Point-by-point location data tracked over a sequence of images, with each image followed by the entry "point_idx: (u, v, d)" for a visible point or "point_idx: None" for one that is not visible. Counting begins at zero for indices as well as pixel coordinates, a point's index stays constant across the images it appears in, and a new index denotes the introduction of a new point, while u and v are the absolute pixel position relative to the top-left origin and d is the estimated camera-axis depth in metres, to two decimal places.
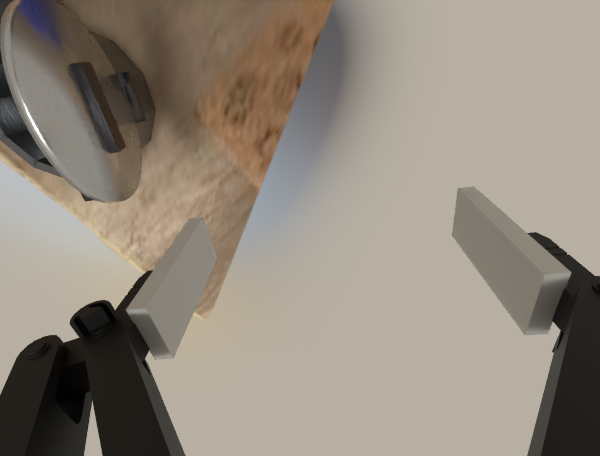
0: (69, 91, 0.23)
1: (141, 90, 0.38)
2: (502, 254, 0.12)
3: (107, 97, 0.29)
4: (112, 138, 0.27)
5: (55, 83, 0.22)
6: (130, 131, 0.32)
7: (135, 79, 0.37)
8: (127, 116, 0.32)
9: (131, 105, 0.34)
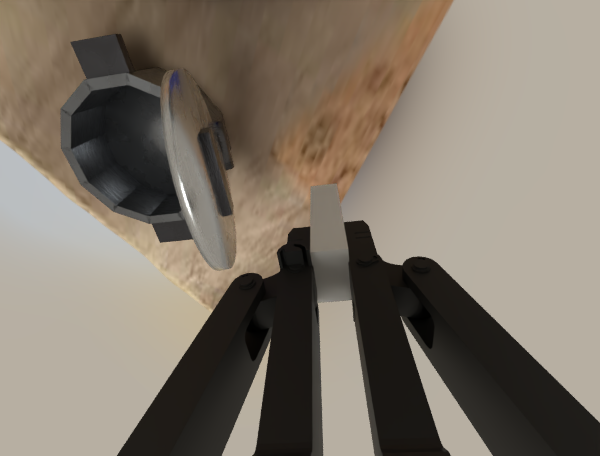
0: (202, 165, 0.22)
1: None
2: None
3: None
4: (228, 202, 0.26)
5: (196, 161, 0.21)
6: None
7: None
8: (222, 167, 0.31)
9: (222, 153, 0.33)
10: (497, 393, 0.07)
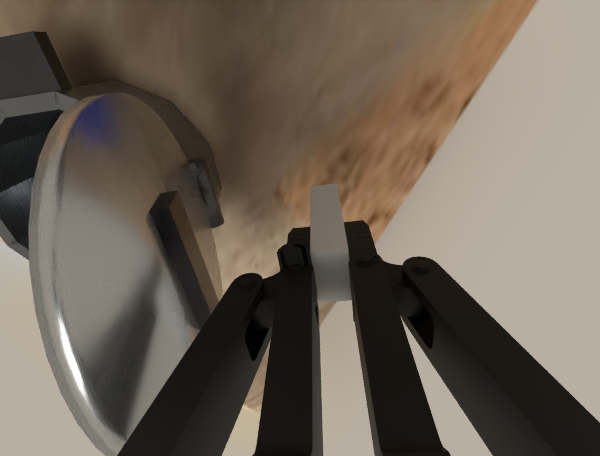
0: (153, 272, 0.12)
1: (208, 168, 0.26)
2: None
3: None
4: (208, 310, 0.15)
5: (136, 280, 0.10)
6: (210, 253, 0.21)
7: (202, 156, 0.25)
8: (206, 230, 0.21)
9: (206, 206, 0.22)
10: (497, 393, 0.07)
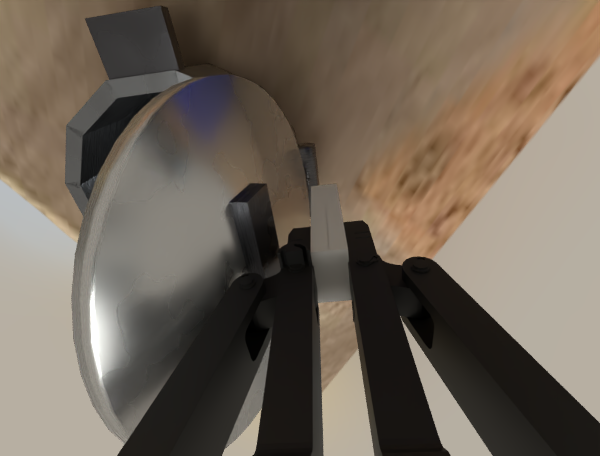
0: (216, 267, 0.11)
1: None
2: None
3: (280, 215, 0.17)
4: None
5: (190, 275, 0.10)
6: None
7: None
8: (302, 222, 0.20)
9: (310, 194, 0.22)
10: (497, 393, 0.07)
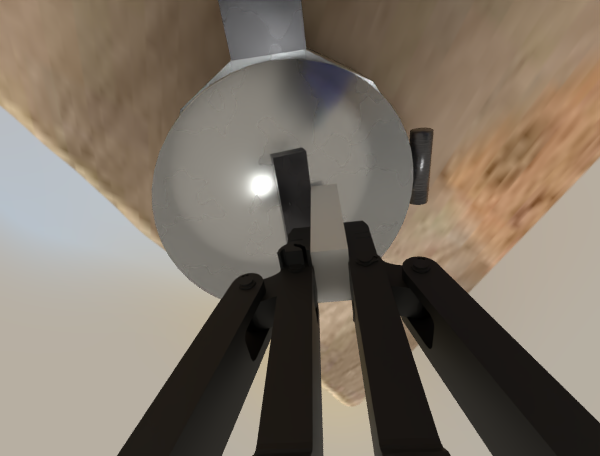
0: (244, 192, 0.17)
1: None
2: None
3: (344, 186, 0.19)
4: None
5: (218, 186, 0.17)
6: (377, 227, 0.21)
7: None
8: (388, 206, 0.20)
9: (422, 180, 0.21)
10: (496, 393, 0.07)
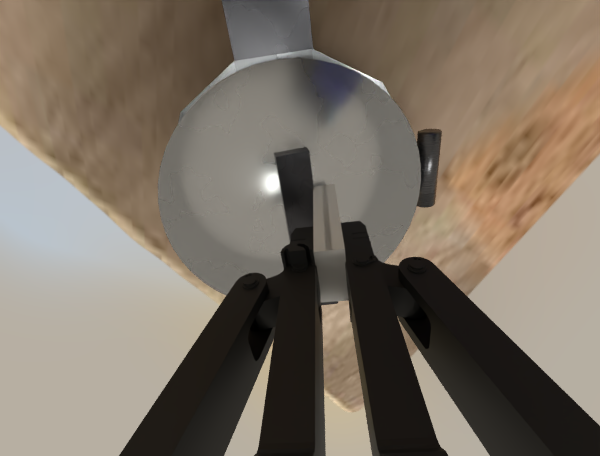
0: (248, 189, 0.17)
1: None
2: None
3: (349, 186, 0.18)
4: None
5: (222, 183, 0.17)
6: (382, 229, 0.20)
7: None
8: (394, 208, 0.20)
9: (430, 182, 0.21)
10: (493, 393, 0.07)
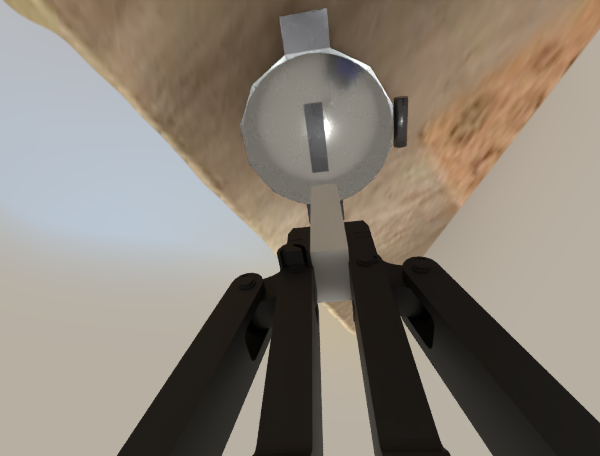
0: (289, 124, 0.32)
1: None
2: None
3: (346, 127, 0.32)
4: (311, 162, 0.33)
5: (276, 120, 0.32)
6: (368, 158, 0.33)
7: None
8: (376, 144, 0.33)
9: (402, 130, 0.33)
10: (497, 393, 0.07)
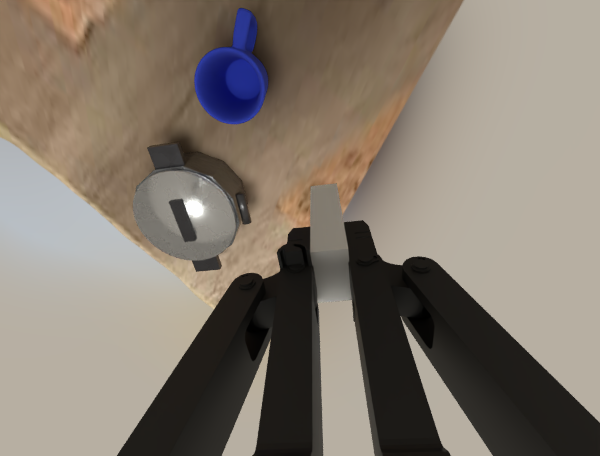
0: (164, 211, 0.47)
1: None
2: None
3: (202, 213, 0.47)
4: (182, 235, 0.48)
5: (154, 208, 0.47)
6: (222, 232, 0.48)
7: (239, 188, 0.51)
8: (225, 224, 0.48)
9: (243, 214, 0.48)
10: (497, 393, 0.07)
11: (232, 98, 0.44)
